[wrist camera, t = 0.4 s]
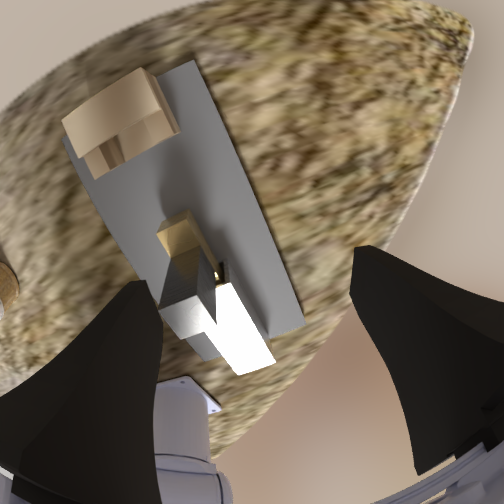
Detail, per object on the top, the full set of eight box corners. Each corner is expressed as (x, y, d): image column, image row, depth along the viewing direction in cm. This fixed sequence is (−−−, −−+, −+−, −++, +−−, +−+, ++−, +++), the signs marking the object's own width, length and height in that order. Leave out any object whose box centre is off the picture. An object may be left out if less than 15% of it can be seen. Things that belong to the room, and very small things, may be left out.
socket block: (112, 169, 15) (90, 182, 12) (88, 118, 13) (61, 120, 10) (181, 132, 15) (172, 134, 12) (155, 77, 13) (140, 66, 10)
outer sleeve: (235, 347, 23) (238, 375, 20) (187, 274, 19) (183, 301, 17) (268, 335, 23) (275, 362, 20) (227, 257, 19) (230, 283, 16)
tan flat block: (239, 346, 23) (249, 414, 16) (161, 221, 17) (135, 280, 11) (261, 338, 22) (277, 406, 16) (189, 208, 17) (175, 262, 10)
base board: (204, 354, 25) (204, 361, 24) (67, 137, 14) (61, 139, 14) (303, 316, 24) (306, 324, 23) (194, 62, 14) (193, 59, 13)
